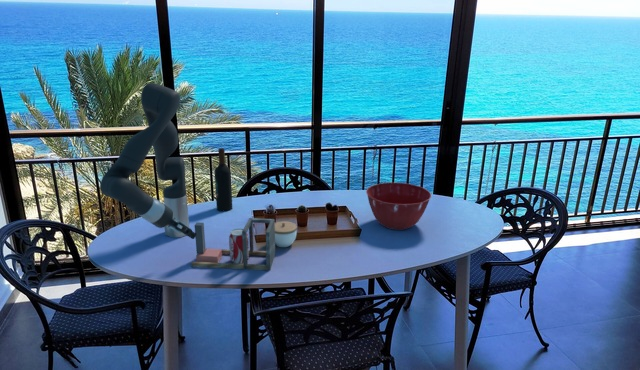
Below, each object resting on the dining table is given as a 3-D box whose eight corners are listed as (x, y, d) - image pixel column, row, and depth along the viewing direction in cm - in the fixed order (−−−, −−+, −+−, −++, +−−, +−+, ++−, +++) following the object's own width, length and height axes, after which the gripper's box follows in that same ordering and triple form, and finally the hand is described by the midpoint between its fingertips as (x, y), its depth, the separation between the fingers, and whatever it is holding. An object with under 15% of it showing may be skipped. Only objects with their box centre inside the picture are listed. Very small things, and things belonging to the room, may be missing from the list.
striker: (195, 262, 166) (192, 227, 161) (200, 254, 171) (198, 220, 167) (217, 263, 165) (215, 228, 161) (222, 255, 171) (220, 221, 166)
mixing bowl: (400, 243, 185) (403, 208, 180) (351, 222, 205) (353, 190, 200) (440, 225, 202) (444, 193, 197) (391, 208, 223) (393, 178, 218)
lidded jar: (272, 237, 187) (272, 217, 185) (297, 238, 187) (297, 217, 184) (268, 249, 177) (268, 227, 174) (295, 250, 177) (295, 228, 174)
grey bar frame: (191, 266, 163) (188, 229, 158) (201, 251, 174) (198, 216, 170) (270, 270, 162) (269, 232, 157) (275, 254, 173) (274, 219, 168)
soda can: (245, 266, 164) (244, 236, 160) (227, 264, 165) (225, 234, 161) (251, 257, 170) (250, 228, 167) (234, 255, 172) (233, 227, 168)
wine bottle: (224, 212, 213) (221, 151, 204) (213, 209, 217) (209, 149, 207) (235, 207, 219) (232, 148, 210) (224, 204, 223) (221, 146, 214)
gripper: (173, 208, 146) (205, 229, 158) (151, 197, 155) (182, 219, 167) (159, 227, 144) (193, 248, 156) (138, 216, 153) (171, 236, 165)
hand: (187, 233), depth 161 cm, fingers open, 8 cm apart
